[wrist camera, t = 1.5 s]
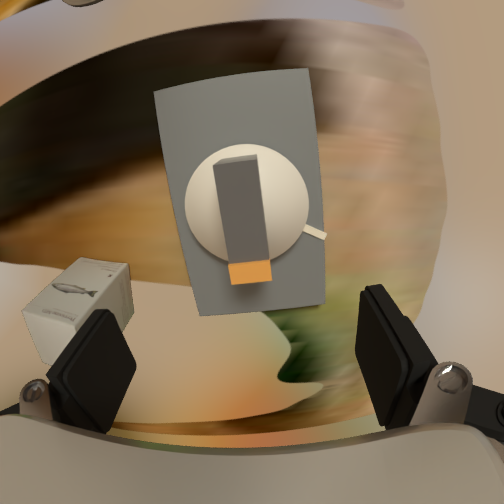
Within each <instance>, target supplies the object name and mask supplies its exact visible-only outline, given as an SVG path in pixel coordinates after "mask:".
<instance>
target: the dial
mask: <svg viewBox="0 0 504 504" xmlns="http://www.w3.org/2000/svg"><path fill="white" fill-rule="evenodd" d="M308 211H309V198H308V192H307V188H306V185H305V183H304V180H303V178H302V176H301V175H300V173H299V171H298V170H297V169H296V168H295V166H294V165H293V164H292V163H291V162H290V161H289V160H288V159H287V158H285V157H284V156H283V155H281V154H280V153H278V152H276V151H274V150H272V149H270V148H267V147H265V146H261V145H256V144H238V145H233V146H229V147H226V148H224V149H221V150H219V151H217V152H215V153H213V154H212V155H211V156H209V157H208V158H206V159H205V160H204V161H203V162H202V163H201V164H200V165H199V166H198V168H197V169H196V170H195V172H194V173H193V175H192V177H191V179H190V181H189V183H188V186H187V190H186V195H185V213H186V218H187V221H188V224H189V227H190V229H191V231H192V233H193V234H194V236H195V237H196V239H197V240H198V241H199V243H200V244H201V245H202V246H203V247H204V248H205V249H207V250H208V251H209V252H211V253H212V254H214V255H215V256H217V257H219V258H221V259H224V260H226V261H229V264H228V268H229V274H230V279H231V284H232V285H235V284H245V283H254V282H264V281H272V274H271V265H270V260H271V259H273V258H275V257H277V256H279V255H281V254H282V253H284V252H285V251H286V250H288V249H289V248H290V247H291V246H292V245H293V244H294V243H295V242H296V240H297V239H298V238H299V236H300V235H301V233H302V231H303V229H304V227H305V224H306V221H307V217H308Z"/></svg>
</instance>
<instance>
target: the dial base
mask: <svg viewBox="0 0 504 504" xmlns="http://www.w3.org/2000/svg"><path fill="white" fill-rule="evenodd" d="M154 97H155V104H156V112H157V118H158V125H159V132H160V138H161V144H162V150H163V156H164V162H165V167H166V173H167V178H168V183H169V188H170V194H171V199H172V203H173V208H174V213H175V218H176V222H177V227H178V231H179V236H180V240H181V245H182V249H183V253H184V257H185V261H186V266H187V270H188V274H189V278H190V281H191V285H192V289H193V293H194V297H195V300H196V304H197V308H198V311H199V315H200V316H210V315H223V314H236V313H248V312H258V311H268V310H278V309H287V308H296V307H304V306H312V305H320V304H325V249H324V239H325V237H326V235H327V233H325V232H324V223H323V204H322V188H321V175H320V163H319V152H318V142H317V132H316V123H315V115H314V107H313V99H312V92H311V85H310V78H309V72H308V68H306V69H286V70H273V71H262V72H253V73H245V74H238V75H231V76H224V77H218V78H213V79H207V80H202V81H197V82H192V83H188V84H183V85H179V86H174V87H170V88H166V89H163V90H159V91H155V92H154ZM238 144H256V145H261V146H265V147H267V148H270V149H272V150H274V151H276V152H278V153H280V154H281V155H283V156H284V157H285V158H287V159H288V160H289V161H290V162H291V163H292V164H293V165H294V166H295V168H296V169H297V170H298V171H299V173H300V175H301V176H302V178H303V180H304V183H305V185H306V188H307V192H308V198H309V211H308V217H307V221H306V224H305V227H304V229H303V231H302V233H301V235H300V236H299V238H298V239H297V240H296V242H295V243H294V244H293V245H292V246H291V247H290V248H289V249H288V250H286V251H285V252H284V253H282V254H281V255H279V256H277V257H275V258H273V259H271V260H270V265H271V274H272V281H264V282H254V283H245V284H235V285H232V284H231V279H230V274H229V268H228V264H229V261H226V260H224V259H221V258H219V257H217V256H215V255H214V254H212V253H211V252H209V251H208V250H207V249H205V248H204V247H203V246H202V245H201V244H200V243H199V241H198V240H197V239H196V237H195V236H194V234H193V233H192V231H191V229H190V227H189V224H188V221H187V218H186V213H185V195H186V190H187V186H188V183H189V181H190V179H191V177H192V175H193V173H194V172H195V170H196V169H197V168H198V166H199V165H200V164H201V163H202V162H203V161H204V160H205V159H206V158H208V157H209V156H211V155H212V154H213V153H215V152H217V151H219V150H221V149H224V148H226V147H229V146H233V145H238Z"/></svg>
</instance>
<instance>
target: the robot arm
mask: <svg viewBox="0 0 504 504" xmlns="http://www.w3.org/2000/svg"><path fill="white" fill-rule="evenodd" d="M62 1H63V2H65V3H67V4H69V5H71V6H73V7H83V6H89V5H93V4H96V3H98V2H100V1H103V0H62ZM355 354H356V358H357V360H358V363H359V366H360V369H361V372H362V374H363V377H364V380H365V383H366V386H367V389H368V392H369V395H370V398H371V401H372V404H373V407H374V410H375V413H376V416H377V419H378V422H379V425H380V426H385V429H386V430H385V431H381V432H376V433H371V434H365V435H360V436H356V437H350V438H344V439H338V440H331V441H325V442H317V443H309V444H300V445H291V446H279V447H260V448H259V447H258V448H210V447H191V446H179V445H169V444H159V443H152V442H144V441H139V440H132V439H127V438H121V437H116V436H111V435H106V433H107V432H108V431H109V430H110V429H111V426H112V424H113V422H114V419H115V417H116V414H117V412H118V409H119V407H120V405H121V403H122V400H123V398H124V396H125V393H126V391H127V389H128V386H129V384H130V382H131V380H132V378H133V375H134V373H135V371H136V362H135V359H134V357H133V355H132V353H131V351H130V349H129V347H128V345H127V342H126V340H125V338H124V336H123V334H122V331H121V329H120V327H119V325H118V322H117V320H116V317H115V315H114V314H113V313H112V312H111V311H110V310H109V309H95V310H94V311H93V312H92V313H91V315H90V316H89V317H88V318H87V320H86V321H85V322H84V323H83V325H82V326H81V327H80V329H79V330H78V331H77V333H76V334H75V335H74V336H73V338H72V339H71V340H70V342H69V343H68V344H67V346H66V347H65V348H64V350H63V351H62V353H61V354H60V355H59V357H58V358H57V359H56V361H55V362H54V364H53V365H52V367H51V368H50V369H49V371H48V372H47V374H46V376H47V378H48V379H49V380H50V382H49V384H47V382H46V381H45V380H43V379H35V380H32V381H30V382H28V383H27V384H26V385H25V386H24V387H23V388H22V390H21V392H20V397H19V403H17V404H15V405H13V406H11V407H9V408H7V409H4V410H2V411H0V504H504V394H501V393H498V392H494V391H491V390H488V389H485V388H481V387H478V386H475V385H473V378H472V375H471V373H470V372H469V370H468V369H467V368H466V367H464V366H463V365H462V364H459V363H456V362H450V361H449V362H443V363H440V364H438V362H437V361H436V359H435V357H434V356H433V354H432V353H431V351H430V349H429V348H428V346H427V345H426V343H425V342H424V340H423V339H422V337H421V336H420V334H419V332H418V331H417V329H416V328H415V327H414V325H413V323H412V322H411V320H410V319H409V318H408V317H407V316H403V314H402V313H401V311H400V310H399V308H398V307H397V305H396V304H395V302H394V301H393V300H392V298H391V297H390V295H389V294H388V292H387V291H386V290H385V288H384V287H383V285H382V284H377V285H371V286H366V287H365V290H364V291H361V293H360V302H359V315H358V325H357V335H356V344H355Z"/></svg>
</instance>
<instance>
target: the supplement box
mask: <svg viewBox="0 0 504 504" xmlns="http://www.w3.org/2000/svg"><path fill="white" fill-rule="evenodd" d="M95 309H109V310H110V311H111V312H112V313H113V314H114V315H115V317H116V320H117V322H118V325H119V327H120V329H121V331H122V332H123V330H124V329H125V327H126V325H127V324H128V322H129V320H130V318H131V317H132V315H133V314H134V307H133V299H132V291H131V283H130V272H129V265H128V264H127V263H116V262H107V261H101V260H95V259H89V258H84V257H80V258H79V259H77V260H76V261H75V262H74V263H73V264H71V265H70V266H69V267H68V268H67V269H66V270H65V271H63V272H62V273H61V274H60V275H59V276H58V277H57V278H56V279H54V280H53V281H52V282H51V283H50V284H49V285H48V286H47V287H46V288H45V289H44V290H42V291H41V292H40V293H39V294H38V295H37V296H36V297H35V298H34V299H33V300H32V301H31V302H30V303H29V304H28V305H27V306H26V307H25V308H24V309H23V310H22V313H23V316H24V319H25V322H26V325H27V327H28V330H29V332H30V335H31V337H32V339H33V342H34V344H35V346H36V349H37V351H38V353H39V355H40V357H41V360H42V362H43V363H45V364H48V365H50V366H52V365H53V364H54V362H55V361H56V359H57V358H58V357H59V355H60V354H61V353H62V351H63V350H64V348H65V347H66V346H67V344H68V343H69V342H70V340H71V339H72V338H73V336H74V335H75V334H76V333H77V331H78V330H79V329H80V327H81V326H82V325H83V323H84V322H85V321H86V320H87V318H88V317H89V316H90V315H91V313H92V312H93V311H94V310H95Z"/></svg>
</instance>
